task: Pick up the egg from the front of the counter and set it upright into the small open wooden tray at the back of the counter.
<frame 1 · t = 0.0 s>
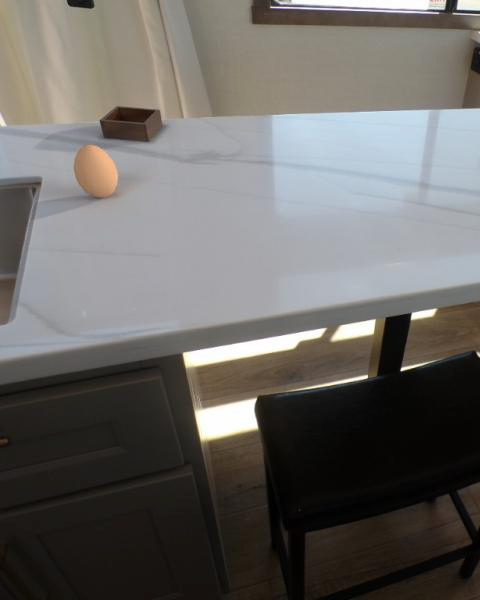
hand: (97, 1, 72), 27 cm above the counter, tool pointing down, fingers open, 9 cm apart
egg: (102, 197, 83), on the counter
open wooden tray: (134, 131, 103), on the counter
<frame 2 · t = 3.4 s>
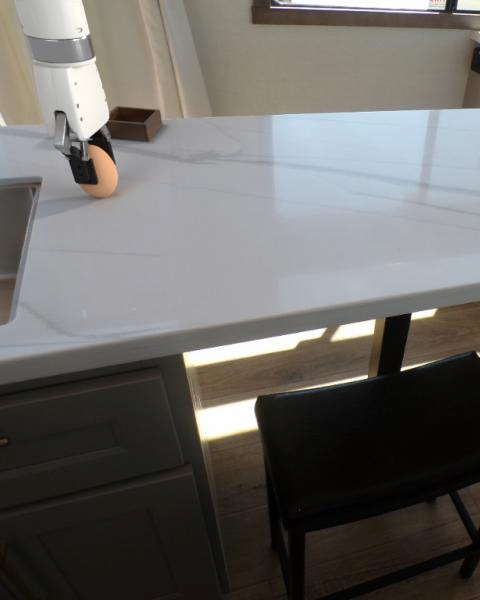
hand: (96, 173, 80), 4 cm above the counter, tool pointing down, fingers closed on egg, 5 cm apart
egg: (103, 197, 83), on the counter, touching gripper
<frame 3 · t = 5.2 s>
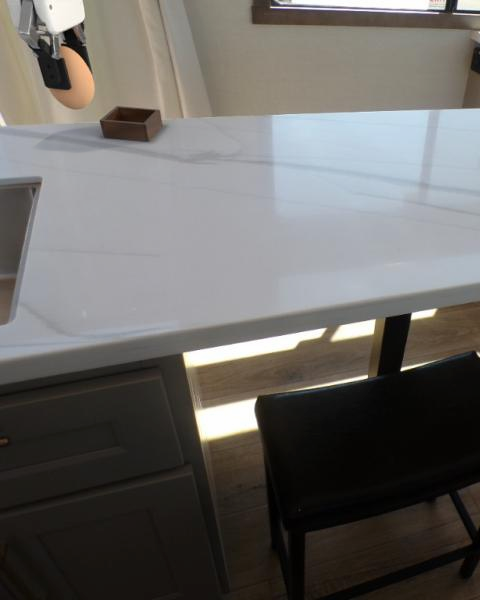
hand: (69, 80, 72), 17 cm above the counter, tool pointing down, fingers closed on egg, 5 cm apart
egg: (77, 110, 75), point 13 cm above the counter, touching gripper
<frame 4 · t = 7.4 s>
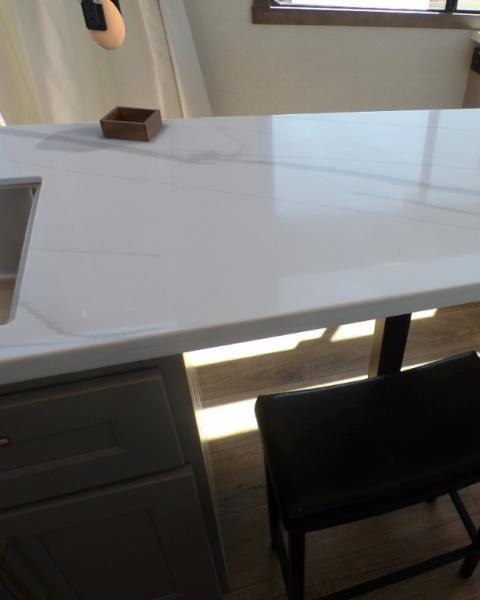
hand: (105, 24, 88), 20 cm above the counter, tool pointing down, fingers closed on egg, 5 cm apart
egg: (111, 51, 91), point 16 cm above the counter, touching gripper
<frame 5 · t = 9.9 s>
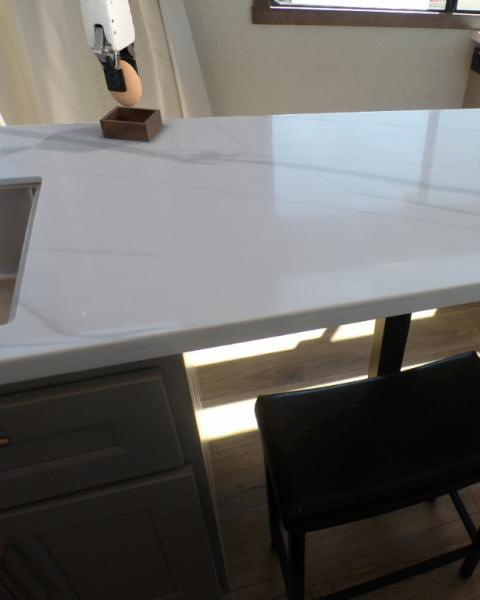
hand: (124, 84, 98), 9 cm above the counter, tool pointing down, fingers closed on egg, 5 cm apart
egg: (129, 107, 100), point 5 cm above the counter, touching gripper
when the fingers open (5 cm above the counter, at t = 11.5 s): egg stays where it is, resting on open wooden tray.
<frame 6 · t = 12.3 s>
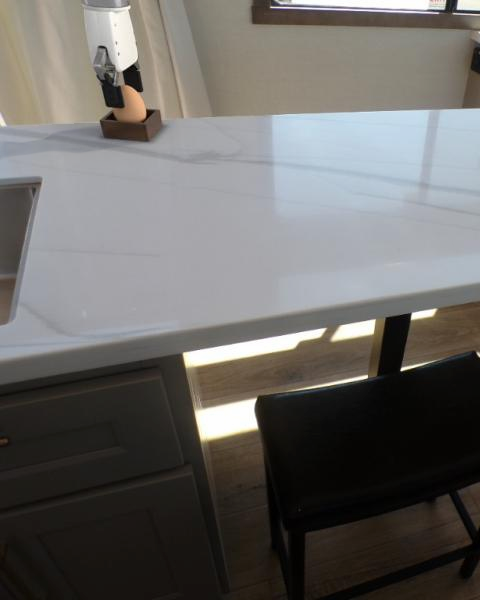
hand: (125, 99, 99), 6 cm above the counter, tool pointing down, fingers open, 9 cm apart
egg: (133, 129, 103), resting on open wooden tray
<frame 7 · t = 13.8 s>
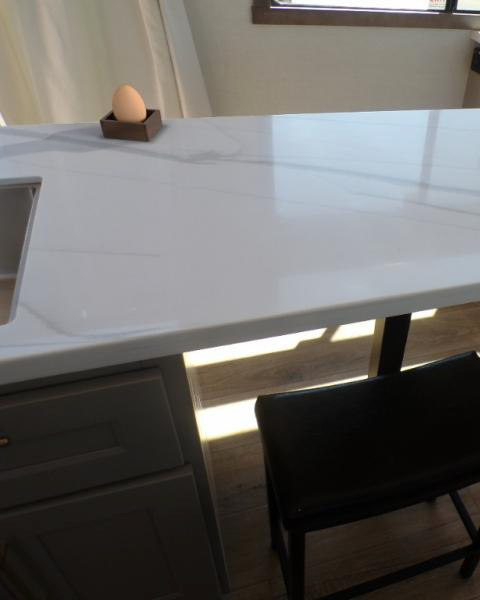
nothing on the counter moved.
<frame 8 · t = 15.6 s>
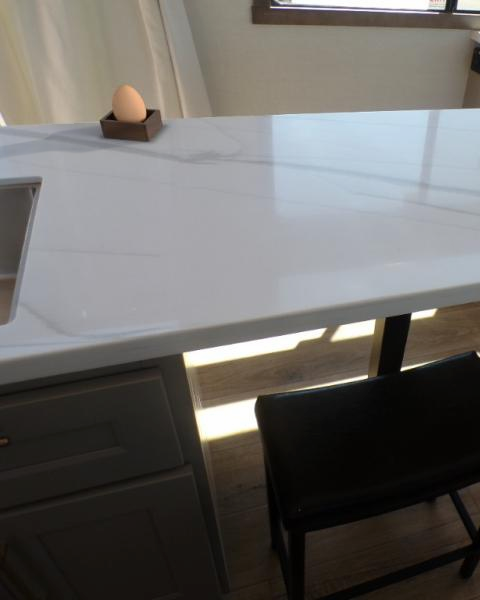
nothing on the counter moved.
at the end: egg 0.0 cm off-centre in the open wooden tray, point 0.4 cm above the open wooden tray's base; egg tilted 0°; the gripper is holding nothing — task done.
